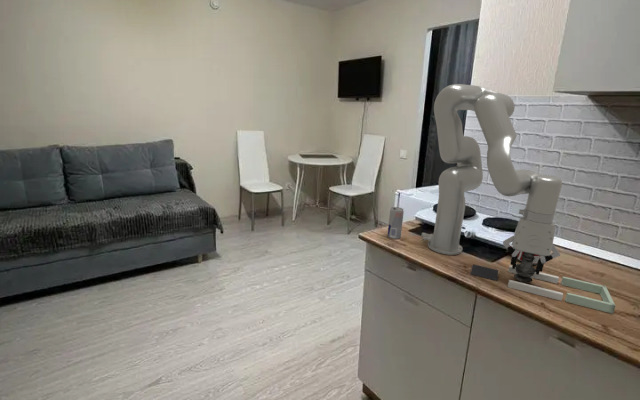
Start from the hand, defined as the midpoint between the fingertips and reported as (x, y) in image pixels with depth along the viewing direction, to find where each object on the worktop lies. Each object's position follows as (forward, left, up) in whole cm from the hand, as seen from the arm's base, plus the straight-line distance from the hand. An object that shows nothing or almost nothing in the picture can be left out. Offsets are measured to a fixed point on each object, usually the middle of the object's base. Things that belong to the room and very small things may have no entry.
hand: (525, 269), depth 109 cm
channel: (+3, 0, -4) cm, 5 cm away
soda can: (+2, +18, -5) cm, 19 cm away
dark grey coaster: (-11, 0, -4) cm, 12 cm away
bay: (+16, 0, -4) cm, 17 cm away
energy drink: (-46, +13, -5) cm, 48 cm away
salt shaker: (0, 0, -3) cm, 3 cm away
